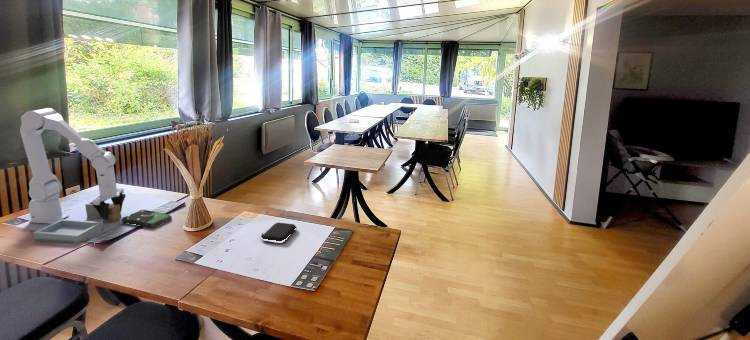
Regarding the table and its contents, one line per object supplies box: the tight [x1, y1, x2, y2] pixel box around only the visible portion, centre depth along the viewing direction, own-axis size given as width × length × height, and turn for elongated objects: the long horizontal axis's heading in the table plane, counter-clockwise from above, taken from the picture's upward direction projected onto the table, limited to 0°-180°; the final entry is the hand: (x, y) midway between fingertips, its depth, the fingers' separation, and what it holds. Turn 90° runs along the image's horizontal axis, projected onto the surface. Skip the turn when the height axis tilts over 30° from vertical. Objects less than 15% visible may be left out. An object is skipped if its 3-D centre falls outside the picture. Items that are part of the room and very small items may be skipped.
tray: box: [33, 218, 104, 245], centre depth 142 cm, size 16×12×3 cm
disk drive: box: [121, 209, 173, 229], centre depth 157 cm, size 10×3×15 cm
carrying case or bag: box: [260, 222, 297, 241], centre depth 151 cm, size 11×3×15 cm
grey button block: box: [84, 200, 102, 220], centre depth 158 cm, size 4×4×6 cm
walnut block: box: [102, 203, 122, 223], centre depth 156 cm, size 4×4×6 cm
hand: (111, 215), depth 156 cm, fingers open, 7 cm apart
